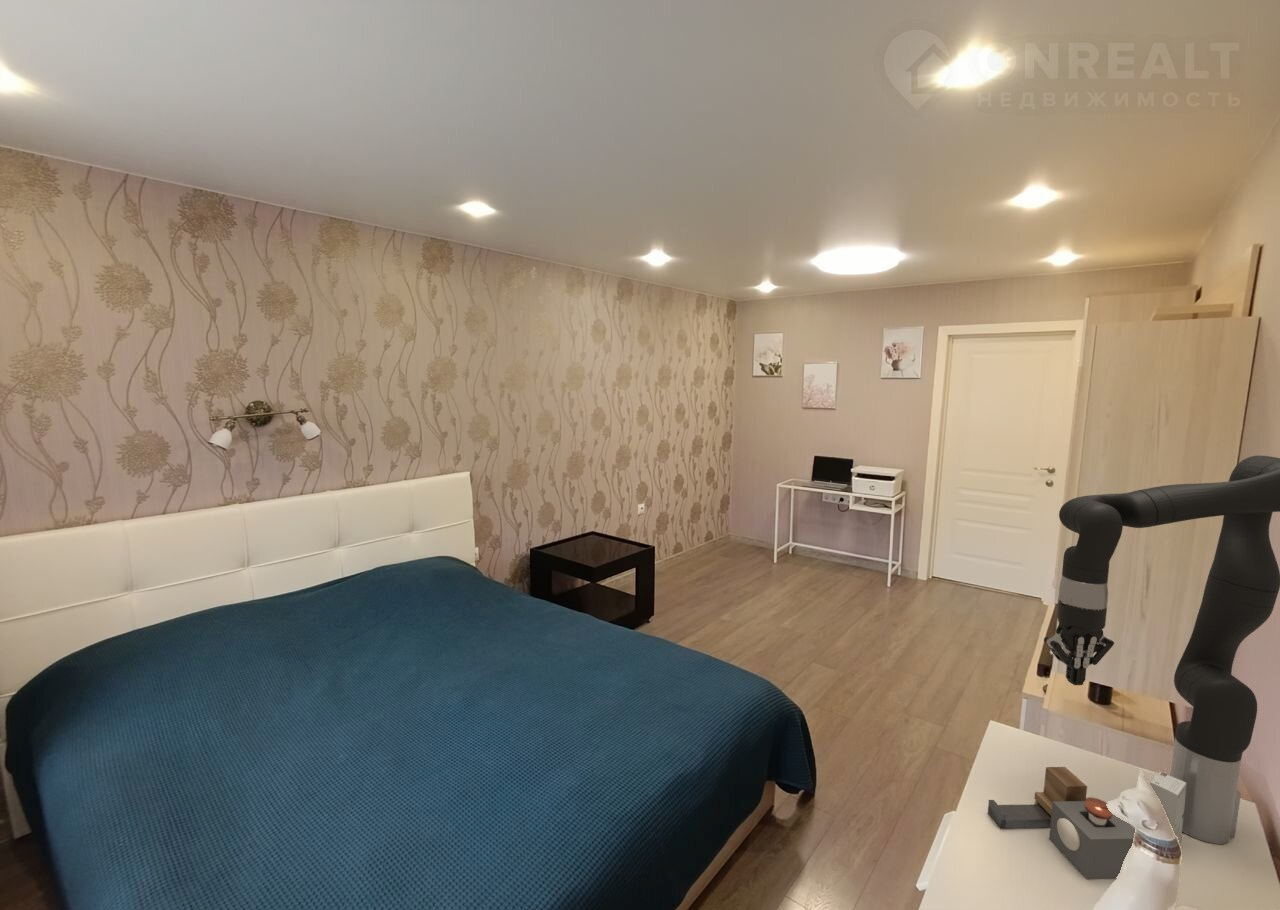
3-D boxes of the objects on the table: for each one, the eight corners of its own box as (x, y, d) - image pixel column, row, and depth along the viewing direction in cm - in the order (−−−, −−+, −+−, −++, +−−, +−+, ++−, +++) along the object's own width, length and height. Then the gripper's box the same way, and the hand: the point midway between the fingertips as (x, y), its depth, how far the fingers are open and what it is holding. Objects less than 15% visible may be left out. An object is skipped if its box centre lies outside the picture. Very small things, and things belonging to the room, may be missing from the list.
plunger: (1096, 831, 106) (1100, 797, 105) (1114, 848, 102) (1118, 813, 101) (1075, 831, 106) (1079, 797, 105) (1093, 849, 102) (1097, 813, 101)
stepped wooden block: (1066, 806, 117) (1070, 765, 116) (1091, 831, 110) (1096, 787, 109) (1033, 807, 117) (1037, 765, 115) (1056, 831, 110) (1061, 788, 109)
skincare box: (1172, 854, 105) (1180, 796, 104) (1141, 838, 109) (1148, 782, 107) (1182, 839, 109) (1189, 783, 107) (1152, 824, 112) (1158, 769, 111)
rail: (1082, 812, 116) (1084, 798, 115) (1098, 827, 112) (1100, 813, 111) (987, 813, 115) (988, 799, 115) (1000, 829, 111) (1001, 814, 111)
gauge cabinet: (1099, 837, 109) (1103, 800, 108) (1140, 878, 100) (1145, 838, 99) (1046, 838, 109) (1050, 801, 108) (1084, 879, 100) (1088, 839, 99)
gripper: (1098, 592, 113) (1091, 672, 115) (1035, 594, 112) (1028, 674, 115) (1132, 606, 105) (1123, 692, 108) (1064, 608, 105) (1057, 694, 107)
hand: (1074, 683), depth 111 cm, fingers closed
